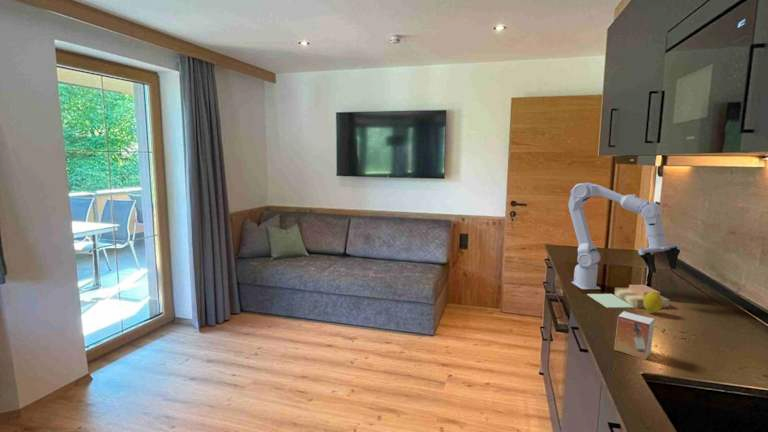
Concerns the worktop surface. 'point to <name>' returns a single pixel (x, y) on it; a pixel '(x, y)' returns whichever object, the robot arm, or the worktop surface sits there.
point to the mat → (610, 301)
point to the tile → (642, 290)
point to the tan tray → (636, 298)
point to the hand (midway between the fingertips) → (663, 270)
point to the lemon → (652, 302)
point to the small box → (634, 335)
